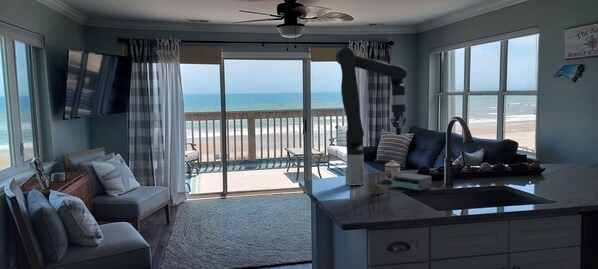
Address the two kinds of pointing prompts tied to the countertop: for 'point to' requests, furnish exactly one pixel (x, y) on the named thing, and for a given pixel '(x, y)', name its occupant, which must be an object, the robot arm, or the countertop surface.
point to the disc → (410, 181)
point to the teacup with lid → (391, 170)
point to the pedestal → (378, 189)
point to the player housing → (415, 179)
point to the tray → (405, 184)
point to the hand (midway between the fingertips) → (398, 134)
